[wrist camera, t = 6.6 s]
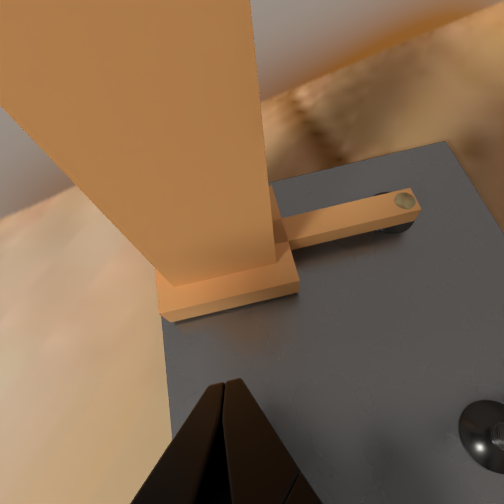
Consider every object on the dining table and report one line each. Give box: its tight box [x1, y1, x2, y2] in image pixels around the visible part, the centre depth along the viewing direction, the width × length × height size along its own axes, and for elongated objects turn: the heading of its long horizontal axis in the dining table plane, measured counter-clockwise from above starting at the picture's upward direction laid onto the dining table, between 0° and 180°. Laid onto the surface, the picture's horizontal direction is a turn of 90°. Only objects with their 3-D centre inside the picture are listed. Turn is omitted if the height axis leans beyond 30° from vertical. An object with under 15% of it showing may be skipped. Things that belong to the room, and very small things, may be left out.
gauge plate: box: [161, 141, 504, 504], centre depth 13 cm, size 18×16×6 cm
